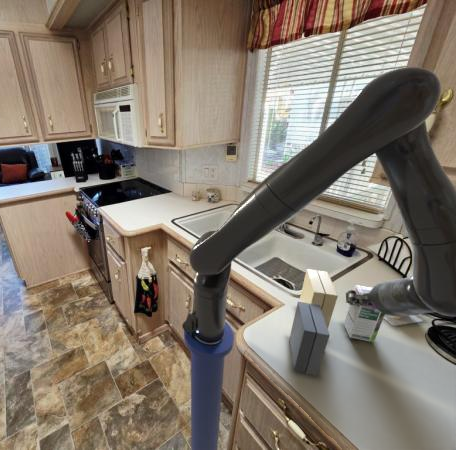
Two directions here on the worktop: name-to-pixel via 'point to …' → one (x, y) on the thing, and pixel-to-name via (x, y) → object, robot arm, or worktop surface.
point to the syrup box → (363, 319)
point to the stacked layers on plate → (401, 319)
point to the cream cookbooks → (319, 292)
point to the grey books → (308, 338)
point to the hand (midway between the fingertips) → (364, 303)
